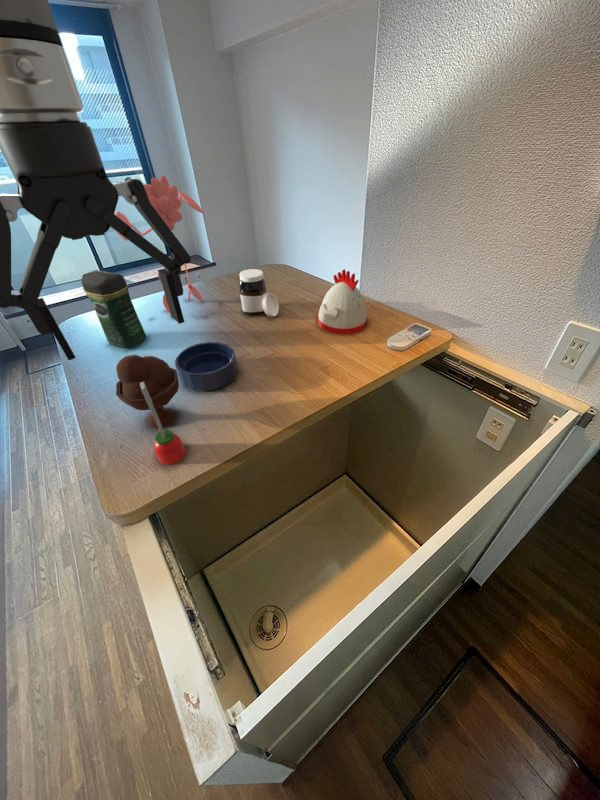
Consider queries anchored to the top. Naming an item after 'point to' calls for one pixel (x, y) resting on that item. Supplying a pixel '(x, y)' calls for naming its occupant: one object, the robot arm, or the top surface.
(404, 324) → the top surface
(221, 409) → the top surface
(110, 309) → the coffee jar
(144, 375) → the ice cream bowl
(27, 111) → the robot arm
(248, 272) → the spread jar
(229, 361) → the dessert bowl
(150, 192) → the figurine
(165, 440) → the red candy apple
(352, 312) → the kitchen timer
